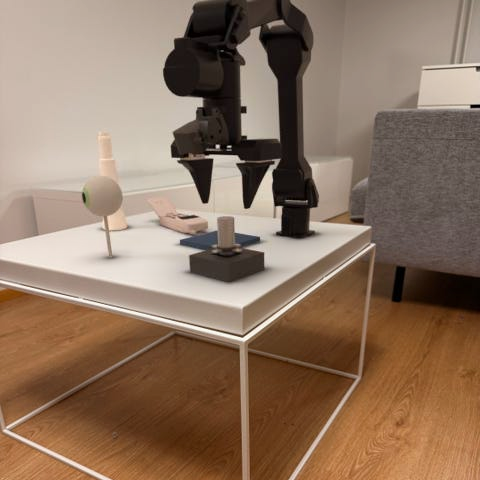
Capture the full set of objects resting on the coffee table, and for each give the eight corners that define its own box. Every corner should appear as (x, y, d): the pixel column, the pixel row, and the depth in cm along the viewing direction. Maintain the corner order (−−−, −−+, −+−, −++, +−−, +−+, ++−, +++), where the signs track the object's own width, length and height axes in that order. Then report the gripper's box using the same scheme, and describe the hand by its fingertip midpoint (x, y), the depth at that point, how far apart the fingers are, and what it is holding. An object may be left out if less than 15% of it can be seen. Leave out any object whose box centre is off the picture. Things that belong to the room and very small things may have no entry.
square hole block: (226, 260, 85) (225, 244, 84) (264, 269, 80) (264, 252, 79) (189, 272, 79) (188, 255, 78) (229, 282, 74) (228, 264, 72)
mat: (219, 234, 106) (219, 229, 106) (260, 241, 99) (260, 236, 98) (179, 244, 98) (179, 239, 97) (221, 253, 90) (221, 248, 90)
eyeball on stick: (85, 256, 90) (73, 176, 84) (120, 250, 94) (110, 172, 88) (100, 264, 85) (87, 179, 79) (136, 257, 89) (126, 175, 83)
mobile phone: (165, 195, 124) (213, 207, 104) (167, 218, 126) (215, 233, 107) (144, 198, 121) (189, 210, 101) (146, 221, 123) (191, 237, 104)
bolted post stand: (226, 264, 83) (224, 213, 80) (252, 269, 80) (251, 216, 76) (202, 271, 79) (199, 218, 76) (228, 278, 76) (226, 222, 72)
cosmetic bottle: (120, 230, 112) (109, 132, 103) (98, 230, 113) (84, 132, 105) (131, 225, 117) (121, 131, 109) (110, 225, 119) (98, 132, 110)
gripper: (139, 101, 69) (149, 207, 76) (231, 94, 58) (235, 220, 64) (193, 102, 77) (198, 198, 83) (284, 96, 66) (283, 208, 72)
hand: (225, 205), depth 75 cm, fingers open, 9 cm apart
